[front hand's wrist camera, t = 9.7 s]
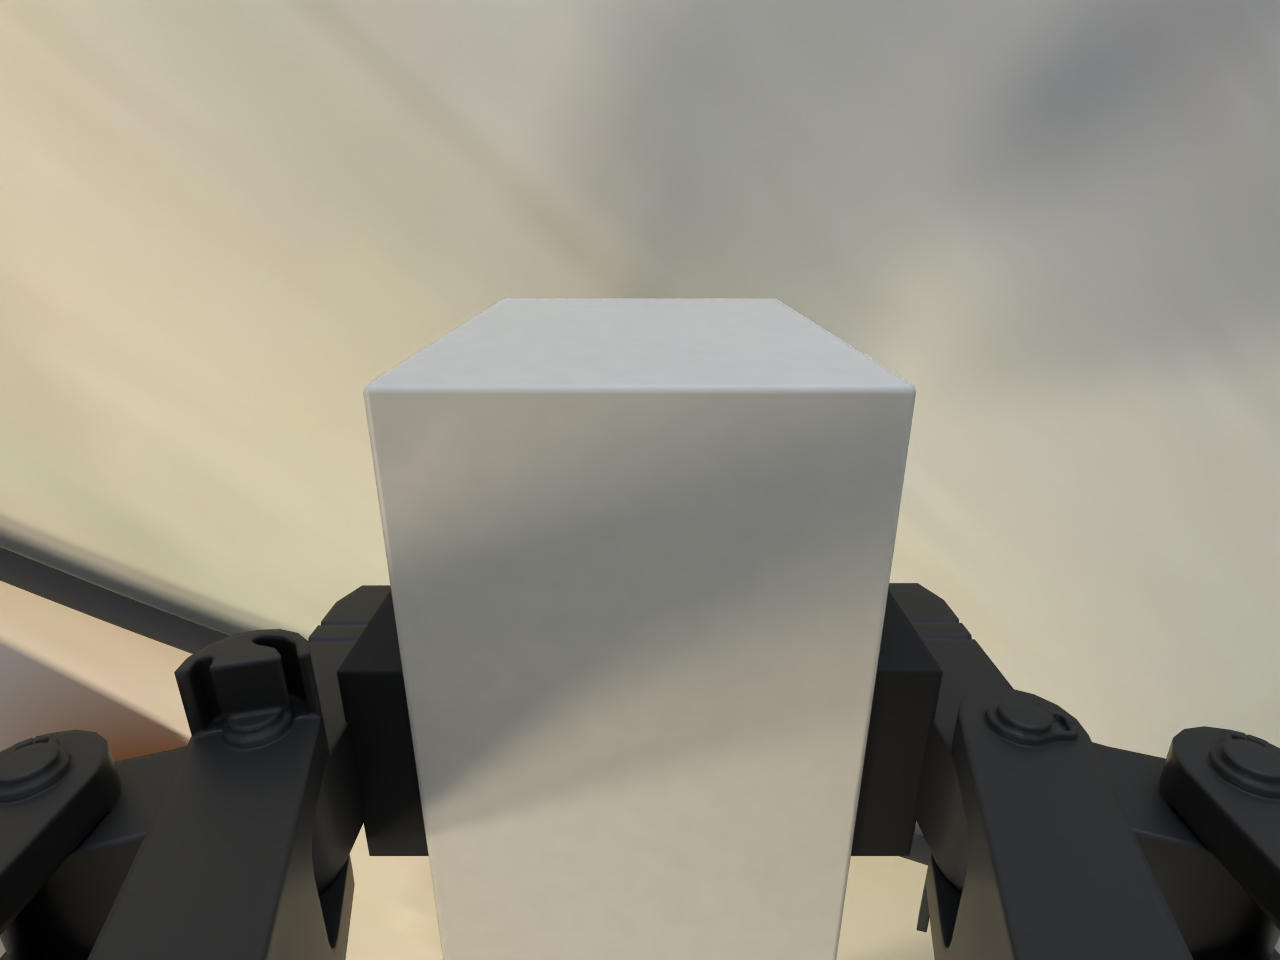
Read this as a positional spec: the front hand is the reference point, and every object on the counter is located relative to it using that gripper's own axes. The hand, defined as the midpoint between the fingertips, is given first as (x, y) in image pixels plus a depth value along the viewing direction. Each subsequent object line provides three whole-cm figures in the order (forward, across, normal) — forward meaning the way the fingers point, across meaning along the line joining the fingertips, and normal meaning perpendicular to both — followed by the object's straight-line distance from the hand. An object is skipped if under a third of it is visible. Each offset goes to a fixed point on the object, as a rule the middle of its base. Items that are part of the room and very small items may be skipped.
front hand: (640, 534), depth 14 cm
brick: (+1, 0, 0) cm, 1 cm away
